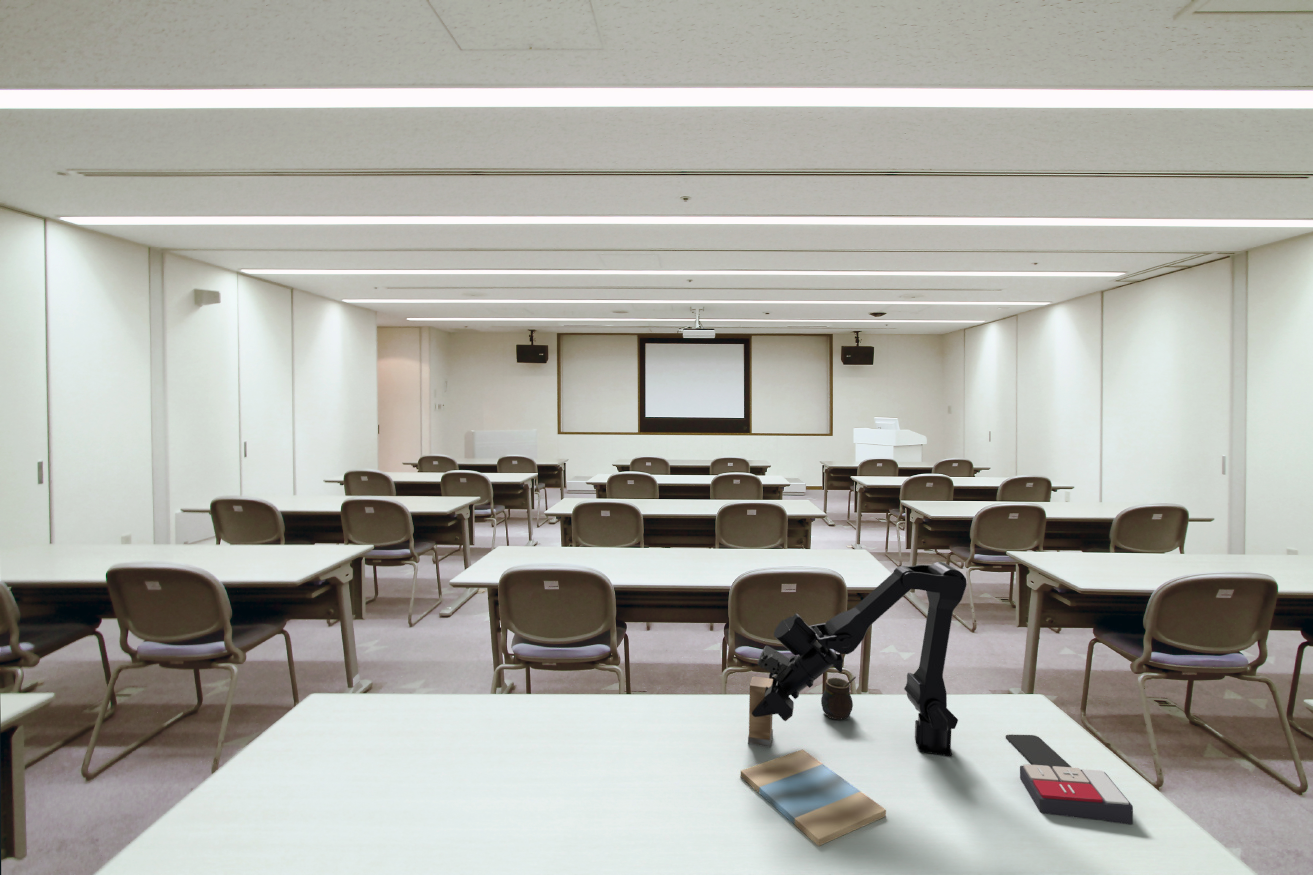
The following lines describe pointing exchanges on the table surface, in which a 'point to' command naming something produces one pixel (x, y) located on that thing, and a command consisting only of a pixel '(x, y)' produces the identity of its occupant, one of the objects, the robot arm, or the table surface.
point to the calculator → (1076, 793)
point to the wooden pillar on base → (763, 724)
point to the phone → (1036, 751)
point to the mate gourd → (837, 698)
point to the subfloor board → (812, 796)
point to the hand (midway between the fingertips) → (754, 709)
